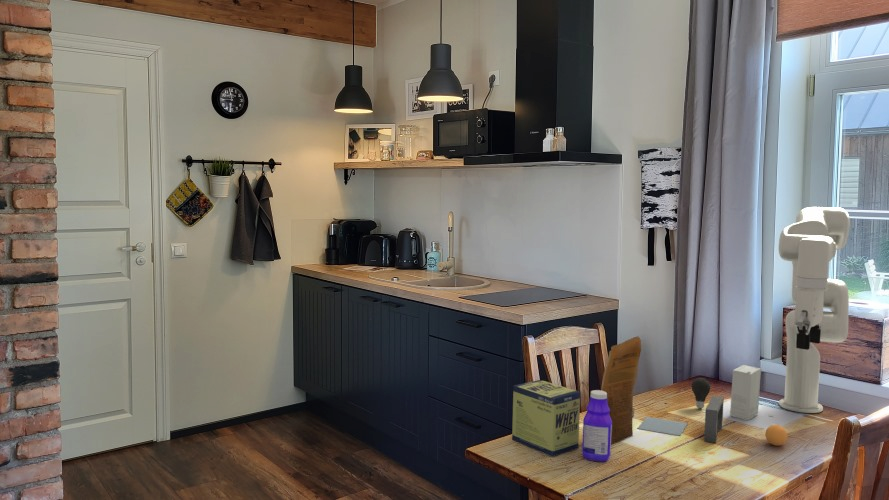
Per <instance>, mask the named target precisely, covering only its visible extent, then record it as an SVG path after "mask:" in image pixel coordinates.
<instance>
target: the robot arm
mask: <svg viewBox="0 0 889 500" xmlns="http://www.w3.org/2000/svg"><path fill="white" fill-rule="evenodd" d="M850 227H851V219H850V215H849V213H848V211H847V210H845V209H844V208H842V207H823V206H821V207H820V206H818V207H817V206H811V207H805V208H803V209H801V210H800V211H799V212H798V213H797V216H796V219H795V223H791V224H789V225H788V226H786V227H784V229H782V231H781V232H780V235H779V240H778V255H779V257H780V258H781V259H782V260H783V261H787V262H791V263H792V281H791V282H792V283H791V299H792V301H793V304H795V306H794V309H793V310H790V311H789V312H788V313H787V315H786V316H785V331H786V360H785V361H786V363H785V364H786V365H785V381H784V382H785V385H784V396H783V397H784V398H781V399H780V400H778V405H779V407H781V408H783V409H784V410H788V411H792V412H796V413H802V414H804V413H805V414H818V413H821V412H823V410H824V406H823V405H822V404H821V403H819V386H820V385H819V384H820V372H821V371H820V370H821V354H820V351H819V350H818V348H817V347H816V346H815V344H820V343H821V342H825V343H826V342H827V343H838V344H839V343H840V344H841V343H843V342H845V341H847V338H848V335H849V310H850V309H849V308H850V307H849V301H850V300H849V298H850V297H849V288H848V285H847V284H846V282H845V281H843V280H841V279H835V278H829V264H830V263H829V262H831V261H832V260H833V258H834V257H836V254H837V251H838V250H842V249H844V248H845V247H846V244H847V242H848V238H849V237H848V236H849V232H850ZM824 309H826V310H824ZM827 310H830V311H827Z"/></svg>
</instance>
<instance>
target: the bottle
mask: <svg viewBox="0 0 889 500" xmlns="http://www.w3.org/2000/svg"><path fill="white" fill-rule="evenodd" d="M609 411H610V409H609V407H608V404H607V393H606V392H605V391H601V390H600V389H595V390H594V389H593V390H590V397H589V402H588V405H587V406H586V413H585V415H584V417H583V421H582V446H581V453H582V456H583V458H584V459H586V460H589V461H595V462H607V461H608V460H609V458H610V456H611V450H612V449H611V447H612V444H611V430H612V421H611V418H610V415H609Z"/></svg>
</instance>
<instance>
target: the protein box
mask: <svg viewBox="0 0 889 500" xmlns="http://www.w3.org/2000/svg"><path fill="white" fill-rule="evenodd" d="M512 389H513V390H512V391H513V393H512V396H513V397H512V425H511V426H512V433H511V440H512V441H514V442H517V443H518V444H520V445H521V444H522V445H523V446H526V447H528V448H530V449H533V450H535V451H538V452H540V453H542V454H545V455H548V456H550V457H556V456H558V455H561V454H565V453H567V452H570V451H574V450H576V449H577V450H578V449H579V443H580V442H579V440H580V439H579V437H580V410H581V391H578V390H576V389H572V388H568V387H565V386H562V385H558V384H554V383H552V382H549V381H546V380H543V379H537V380H533V381H530V382H524V383H519V384H515V385H513V388H512Z"/></svg>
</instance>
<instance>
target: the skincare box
mask: <svg viewBox="0 0 889 500" xmlns="http://www.w3.org/2000/svg"><path fill="white" fill-rule="evenodd" d="M761 372H762V369H761V368H759V367H756V366H750V365H745V364H742V365H740V366H739V367H737V368H734V369H732V381H731V394H730V395H731V396H730V411H729V412H730V413H729V415H730V417H732V418H733V417H734V418H738V419H741V420H745V421H749V420H751V419H753V418H754V417H755V416H757V415H758V414H759V404H760V392H761V391H760V388H761V376H762V375H761V374H762V373H761Z"/></svg>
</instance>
